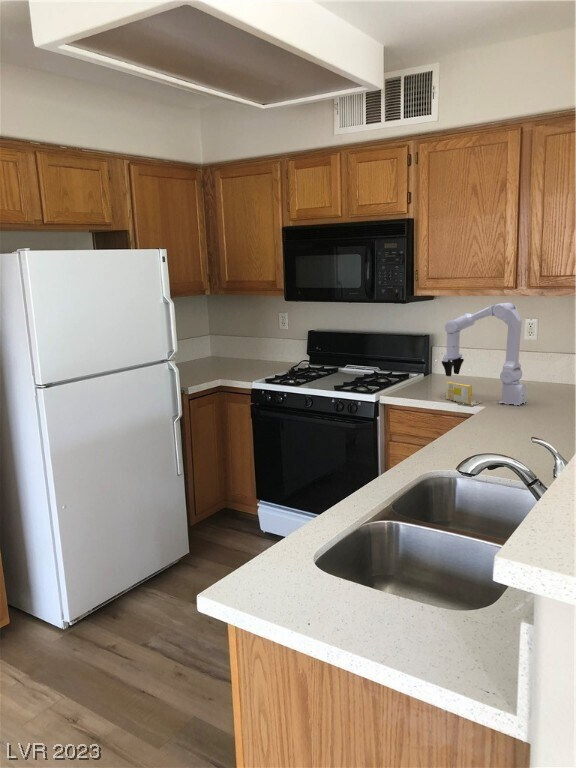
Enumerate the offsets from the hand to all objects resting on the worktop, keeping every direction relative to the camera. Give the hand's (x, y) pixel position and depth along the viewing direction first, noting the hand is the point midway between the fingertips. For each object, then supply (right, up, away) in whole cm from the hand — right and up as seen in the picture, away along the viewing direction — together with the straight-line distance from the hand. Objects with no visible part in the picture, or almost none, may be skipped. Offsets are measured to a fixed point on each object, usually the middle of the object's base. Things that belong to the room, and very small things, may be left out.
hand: (452, 375), depth 287 cm
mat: (+4, -13, -16) cm, 21 cm away
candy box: (-1, -12, -12) cm, 17 cm away
